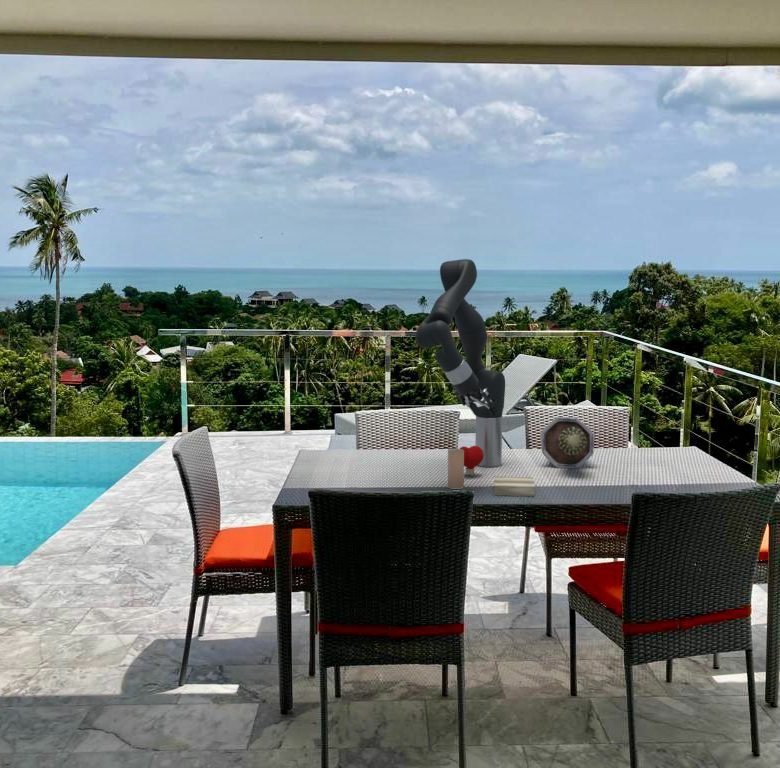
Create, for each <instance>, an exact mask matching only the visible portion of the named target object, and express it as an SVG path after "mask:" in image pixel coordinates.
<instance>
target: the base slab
mask: <svg viewBox="0 0 780 768" xmlns="http://www.w3.org/2000/svg"><path fill="white" fill-rule="evenodd" d="M493 479H494V483H493V487H494V489H493V490H494V491H493V492H494V494H493V495H511V496H510V497H526V496H535V490H536V487H535V481H534V477H530V476H529V477H527V476H523V477H522V476H521V477H520V476H494V477H493Z"/></svg>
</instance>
